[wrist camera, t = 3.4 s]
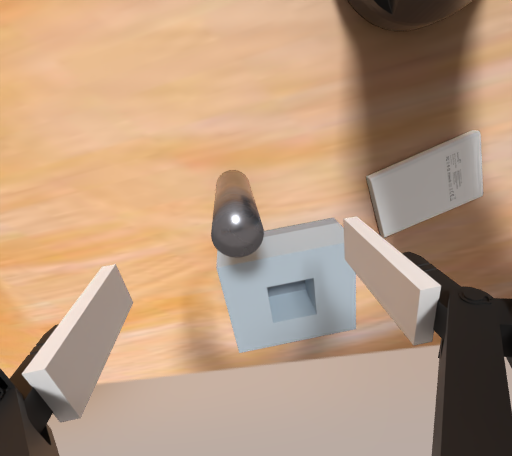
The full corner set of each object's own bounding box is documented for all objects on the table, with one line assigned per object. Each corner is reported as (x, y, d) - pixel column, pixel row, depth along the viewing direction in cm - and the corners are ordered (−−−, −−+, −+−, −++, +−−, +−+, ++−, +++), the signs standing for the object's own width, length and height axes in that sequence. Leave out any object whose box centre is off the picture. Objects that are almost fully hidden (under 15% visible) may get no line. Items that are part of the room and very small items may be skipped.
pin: (212, 173, 29) (205, 215, 18) (246, 167, 29) (259, 205, 18) (220, 205, 30) (217, 261, 19) (251, 199, 30) (267, 252, 19)
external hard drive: (363, 175, 31) (469, 129, 30) (377, 233, 34) (473, 193, 33) (370, 179, 29) (482, 130, 28) (384, 238, 33) (484, 197, 32)
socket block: (218, 240, 32) (216, 267, 26) (333, 217, 32) (355, 240, 27) (237, 316, 37) (239, 352, 31) (336, 296, 37) (355, 329, 32)
